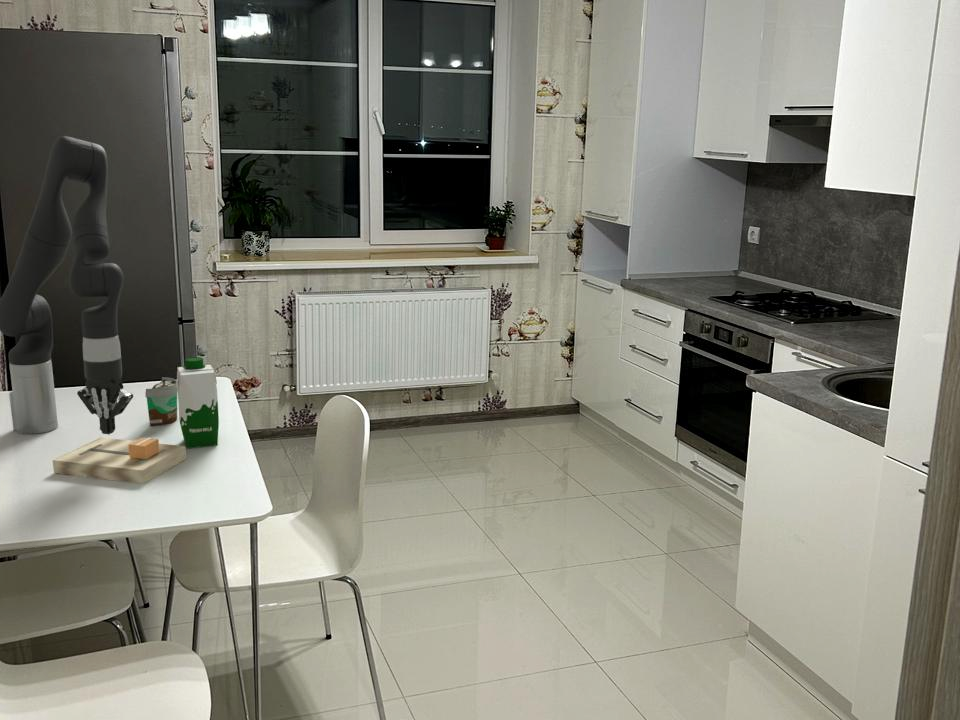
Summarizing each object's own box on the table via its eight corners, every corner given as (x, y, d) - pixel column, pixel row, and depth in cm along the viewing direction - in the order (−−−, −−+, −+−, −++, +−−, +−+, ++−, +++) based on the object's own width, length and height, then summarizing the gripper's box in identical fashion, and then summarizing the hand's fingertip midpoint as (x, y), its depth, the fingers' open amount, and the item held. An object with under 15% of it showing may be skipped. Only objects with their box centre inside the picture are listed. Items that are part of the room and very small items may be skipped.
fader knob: (129, 457, 197) (128, 444, 196) (143, 450, 201) (142, 436, 201) (145, 459, 196) (144, 445, 195) (159, 451, 200) (158, 438, 200)
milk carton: (216, 434, 222) (212, 355, 218) (222, 446, 214) (217, 363, 210) (179, 439, 219) (173, 358, 214) (183, 450, 211) (177, 367, 206)
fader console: (53, 473, 196) (52, 459, 195) (101, 449, 211) (100, 436, 210) (143, 483, 190) (142, 469, 190) (186, 458, 206) (185, 445, 205)
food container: (172, 428, 227) (169, 389, 225) (147, 427, 227) (144, 389, 225) (188, 413, 239) (186, 377, 237) (165, 413, 239) (162, 376, 237)
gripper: (139, 355, 197) (144, 431, 201) (87, 349, 200) (93, 425, 204) (117, 363, 190) (123, 441, 194) (63, 357, 193) (70, 435, 197)
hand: (107, 433), depth 199 cm, fingers closed
